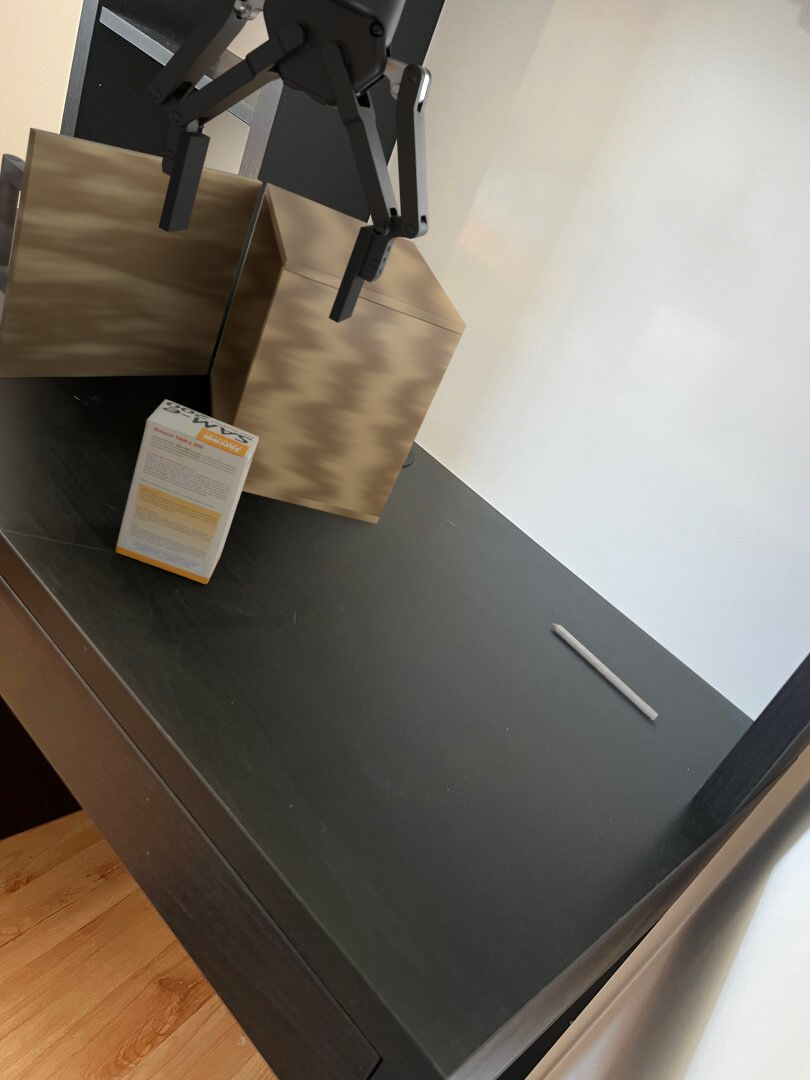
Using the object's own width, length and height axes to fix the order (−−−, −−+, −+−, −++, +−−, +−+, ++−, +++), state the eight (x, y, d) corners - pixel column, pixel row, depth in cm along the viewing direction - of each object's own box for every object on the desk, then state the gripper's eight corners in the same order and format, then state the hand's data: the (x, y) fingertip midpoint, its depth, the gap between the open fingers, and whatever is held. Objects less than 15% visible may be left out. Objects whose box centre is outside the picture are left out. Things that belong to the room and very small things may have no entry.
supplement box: (220, 559, 77) (263, 435, 70) (206, 587, 73) (250, 459, 66) (130, 525, 75) (165, 395, 69) (111, 552, 71) (146, 417, 65)
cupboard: (213, 484, 86) (286, 258, 74) (209, 375, 106) (267, 182, 94) (376, 524, 94) (466, 325, 82) (344, 416, 114) (413, 242, 101)
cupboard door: (-42, 337, 88) (-12, 94, 75) (168, 342, 108) (218, 151, 96) (-2, 377, 85) (36, 131, 73) (206, 375, 105) (262, 182, 93)
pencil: (555, 620, 93) (659, 715, 86) (550, 626, 93) (653, 721, 86) (553, 618, 92) (658, 713, 86) (548, 624, 92) (652, 720, 86)
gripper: (139, -193, 47) (71, 193, 58) (536, 18, 47) (393, 365, 58) (205, -150, 53) (133, 190, 64) (555, 36, 53) (423, 345, 64)
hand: (256, 273), depth 61 cm, fingers open, 13 cm apart
